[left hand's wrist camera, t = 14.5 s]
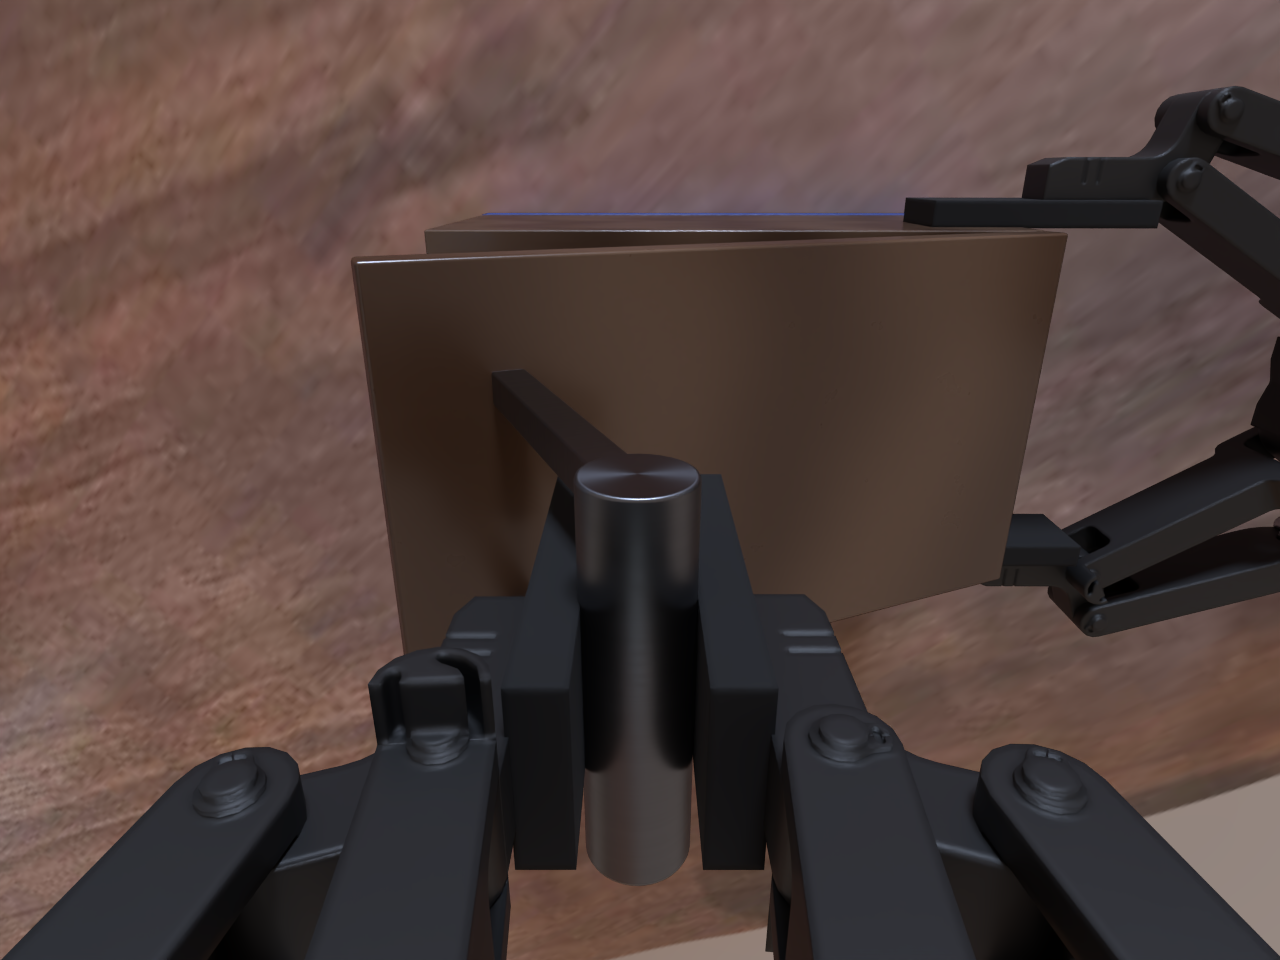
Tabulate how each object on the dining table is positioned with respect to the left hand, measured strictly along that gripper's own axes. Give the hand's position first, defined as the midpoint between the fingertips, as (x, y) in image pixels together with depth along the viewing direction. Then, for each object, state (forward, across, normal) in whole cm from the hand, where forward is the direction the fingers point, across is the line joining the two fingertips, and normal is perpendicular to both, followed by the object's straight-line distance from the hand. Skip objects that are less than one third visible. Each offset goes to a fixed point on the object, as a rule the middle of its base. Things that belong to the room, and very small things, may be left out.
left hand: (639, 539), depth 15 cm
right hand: (+11, -8, 0) cm, 14 cm away
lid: (+5, -3, 0) cm, 6 cm away
